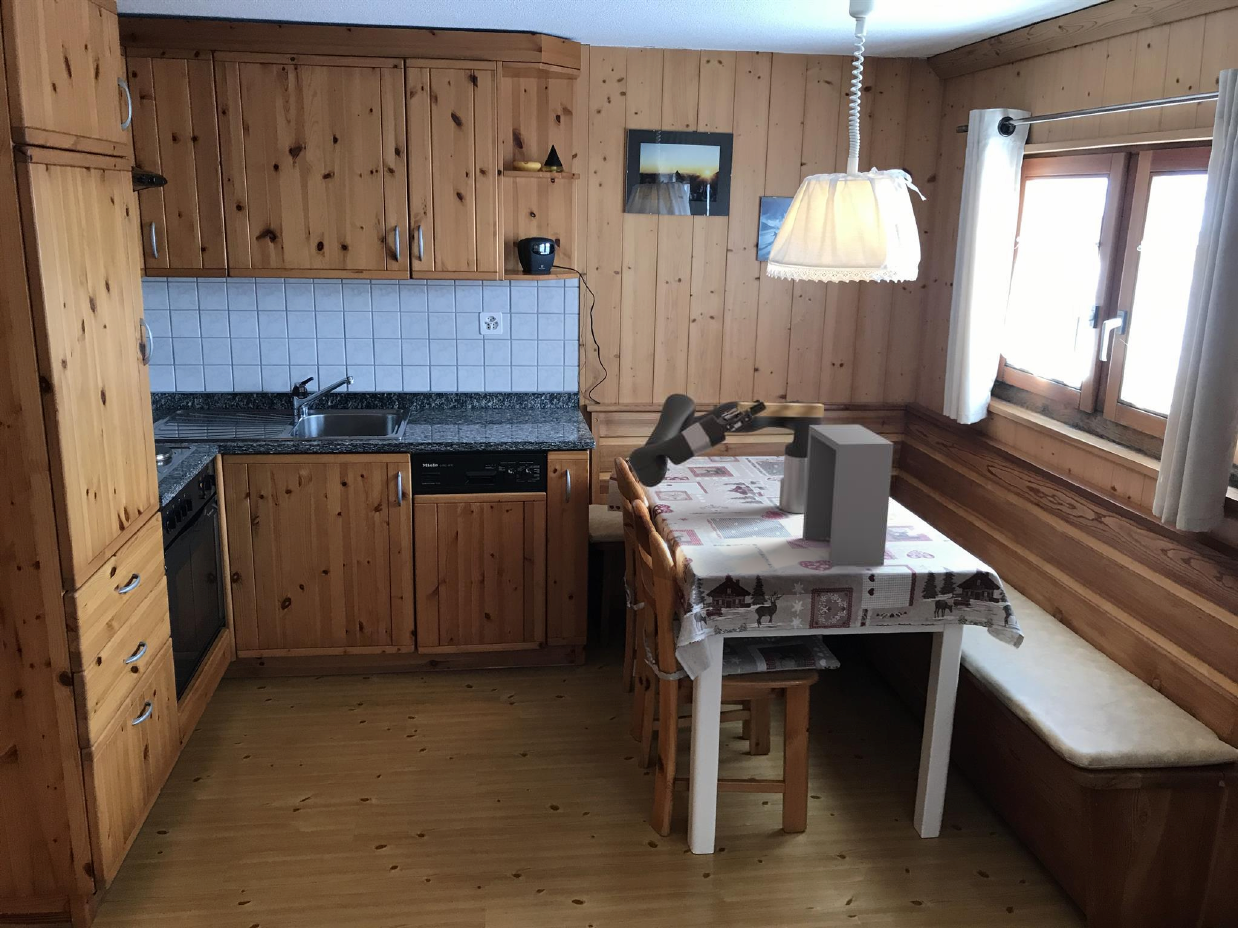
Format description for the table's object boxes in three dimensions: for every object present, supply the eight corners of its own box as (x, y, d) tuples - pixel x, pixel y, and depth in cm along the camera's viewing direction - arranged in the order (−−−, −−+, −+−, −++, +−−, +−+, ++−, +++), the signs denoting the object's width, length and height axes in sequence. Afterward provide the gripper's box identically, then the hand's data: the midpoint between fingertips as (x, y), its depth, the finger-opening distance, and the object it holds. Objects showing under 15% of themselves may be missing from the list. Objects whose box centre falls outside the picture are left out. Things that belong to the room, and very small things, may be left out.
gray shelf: (831, 566, 258) (839, 444, 250) (802, 537, 281) (809, 425, 274) (883, 564, 260) (893, 443, 252) (850, 536, 283) (858, 424, 275)
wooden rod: (740, 415, 257) (740, 404, 256) (737, 413, 260) (738, 402, 259) (823, 417, 260) (824, 405, 259) (819, 415, 263) (820, 403, 262)
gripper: (704, 442, 266) (761, 411, 266) (716, 454, 253) (776, 421, 253) (691, 418, 264) (749, 386, 264) (702, 428, 251) (763, 395, 251)
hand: (762, 403), depth 258 cm, fingers closed on wooden rod, 3 cm apart
